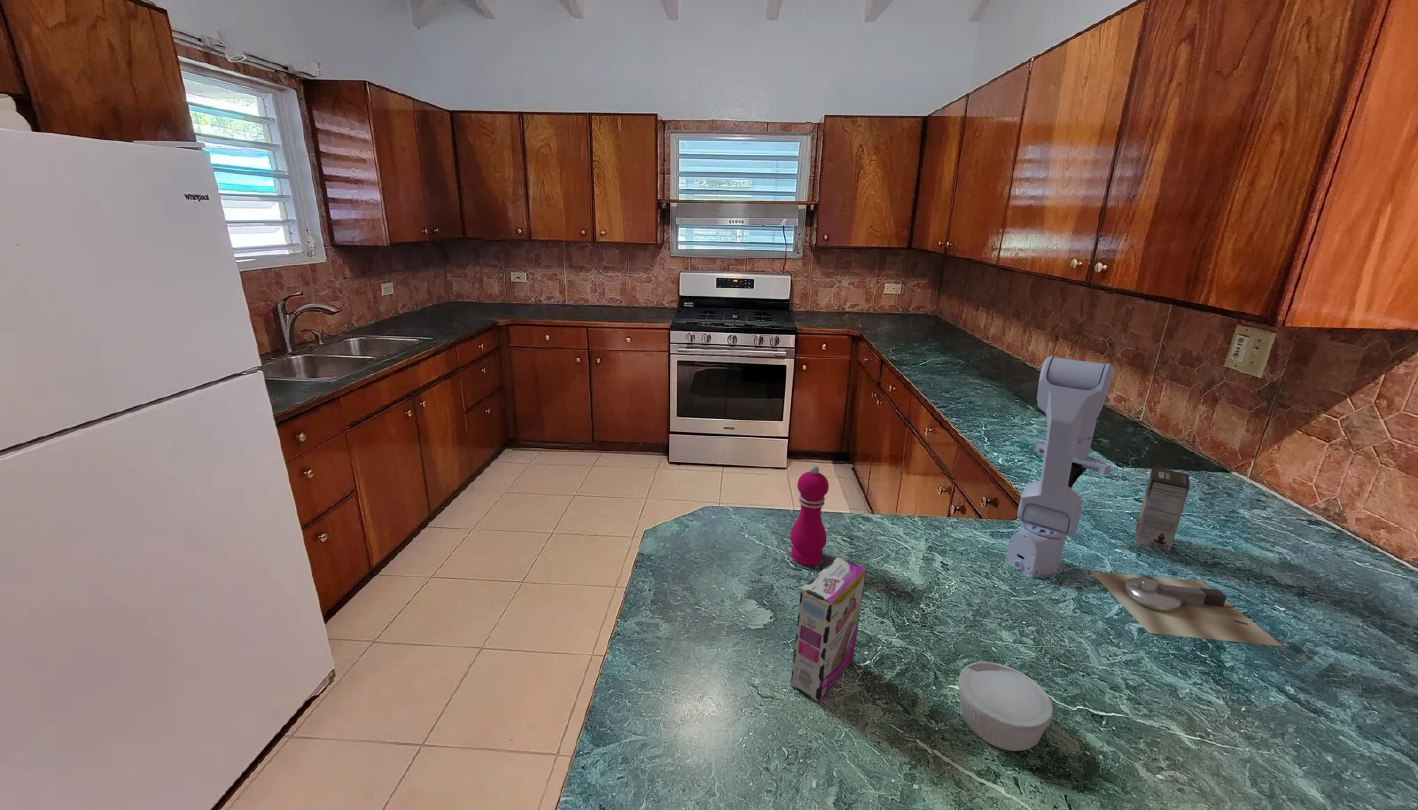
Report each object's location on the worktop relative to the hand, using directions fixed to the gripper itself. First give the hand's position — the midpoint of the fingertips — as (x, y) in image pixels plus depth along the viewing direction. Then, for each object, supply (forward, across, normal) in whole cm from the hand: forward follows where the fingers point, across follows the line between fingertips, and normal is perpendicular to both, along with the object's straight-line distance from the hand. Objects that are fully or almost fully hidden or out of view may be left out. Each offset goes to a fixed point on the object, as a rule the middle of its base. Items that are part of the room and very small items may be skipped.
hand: (1062, 493), depth 121 cm
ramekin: (+11, -27, +58) cm, 65 cm away
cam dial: (+9, -25, +6) cm, 27 cm away
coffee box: (+11, -12, -17) cm, 23 cm away
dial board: (+10, -26, +6) cm, 29 cm away
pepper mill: (+11, +17, +56) cm, 59 cm away
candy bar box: (+11, -10, +73) cm, 74 cm away
